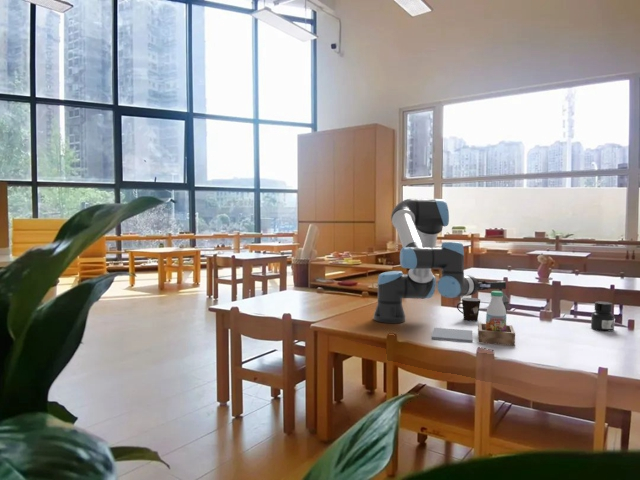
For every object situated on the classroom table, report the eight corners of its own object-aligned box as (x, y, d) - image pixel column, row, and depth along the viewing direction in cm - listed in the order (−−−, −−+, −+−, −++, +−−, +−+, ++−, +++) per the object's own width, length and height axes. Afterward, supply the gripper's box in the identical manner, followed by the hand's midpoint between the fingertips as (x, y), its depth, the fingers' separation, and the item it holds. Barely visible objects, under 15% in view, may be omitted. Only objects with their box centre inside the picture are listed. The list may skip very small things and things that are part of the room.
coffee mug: (477, 317, 232) (478, 297, 232) (481, 322, 224) (482, 301, 223) (453, 317, 234) (454, 297, 233) (456, 321, 225) (457, 300, 224)
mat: (431, 339, 193) (431, 336, 193) (434, 329, 208) (434, 327, 208) (472, 342, 188) (472, 340, 188) (472, 332, 203) (472, 330, 203)
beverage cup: (507, 325, 217) (508, 282, 216) (508, 329, 210) (509, 284, 209) (490, 324, 220) (492, 281, 218) (491, 327, 213) (492, 283, 212)
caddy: (478, 342, 188) (478, 330, 187) (477, 334, 201) (478, 323, 200) (514, 345, 184) (515, 333, 183) (511, 337, 196) (512, 325, 196)
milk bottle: (482, 337, 196) (483, 290, 194) (500, 337, 196) (501, 289, 195) (490, 342, 188) (492, 293, 187) (509, 342, 189) (510, 293, 187)
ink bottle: (607, 332, 205) (608, 305, 204) (586, 328, 212) (587, 302, 212) (618, 329, 210) (619, 303, 210) (597, 325, 218) (598, 300, 217)
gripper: (433, 294, 181) (458, 291, 197) (498, 297, 164) (519, 294, 180) (433, 274, 181) (458, 273, 197) (498, 276, 165) (519, 275, 181)
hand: (487, 283), depth 189 cm, fingers open, 13 cm apart
